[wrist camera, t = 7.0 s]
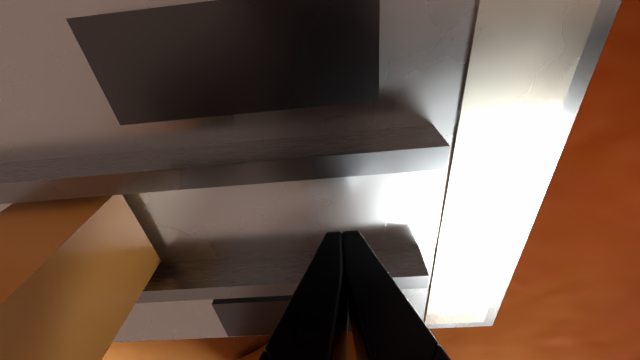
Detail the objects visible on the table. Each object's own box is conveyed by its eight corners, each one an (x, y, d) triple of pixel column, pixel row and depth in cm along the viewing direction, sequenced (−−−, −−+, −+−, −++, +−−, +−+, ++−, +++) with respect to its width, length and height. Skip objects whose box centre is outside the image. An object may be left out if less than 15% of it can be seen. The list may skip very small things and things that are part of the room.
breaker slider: (119, 189, 8) (-117, 418, 4) (161, 260, 10) (29, 479, 5) (22, 197, 8) (-311, 424, 4) (79, 266, 10) (-113, 481, 6)
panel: (589, -116, 6) (779, -192, 4) (472, 285, 14) (507, 355, 11) (-137, -16, 8) (-388, -19, 5) (119, 304, 15) (75, 371, 13)
